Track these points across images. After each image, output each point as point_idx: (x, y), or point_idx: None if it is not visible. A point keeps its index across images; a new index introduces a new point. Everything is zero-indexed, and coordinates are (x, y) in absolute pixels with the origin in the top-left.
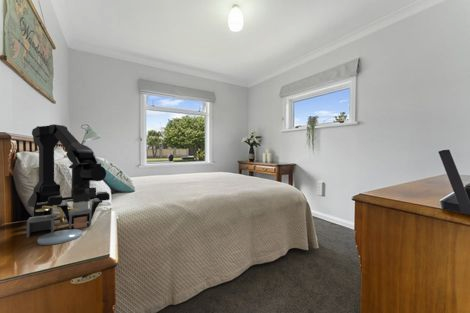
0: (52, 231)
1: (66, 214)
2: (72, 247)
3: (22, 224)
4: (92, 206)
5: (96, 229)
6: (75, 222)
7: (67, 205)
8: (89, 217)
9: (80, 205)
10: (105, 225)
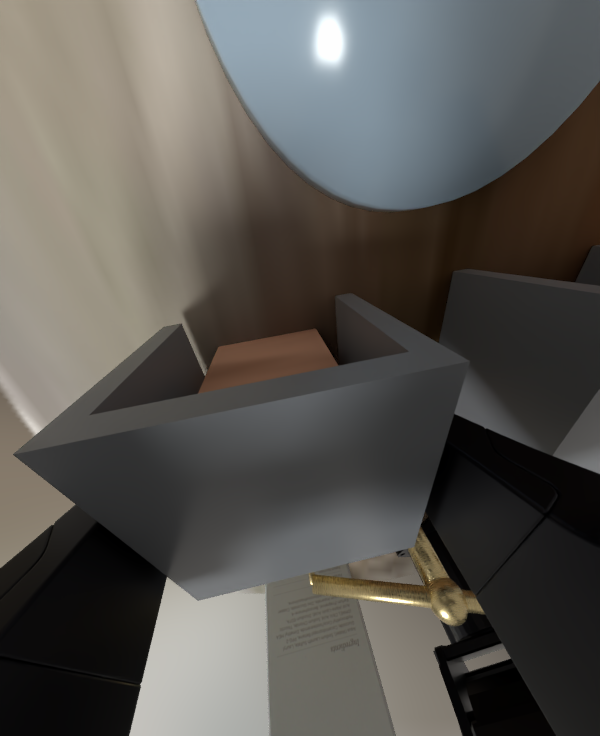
0: (470, 271)
1: (467, 430)
2: None
3: None
4: (19, 664)
5: (31, 135)
6: (314, 354)
7: (531, 663)
8: (145, 375)
9: (319, 637)
10: (4, 295)
